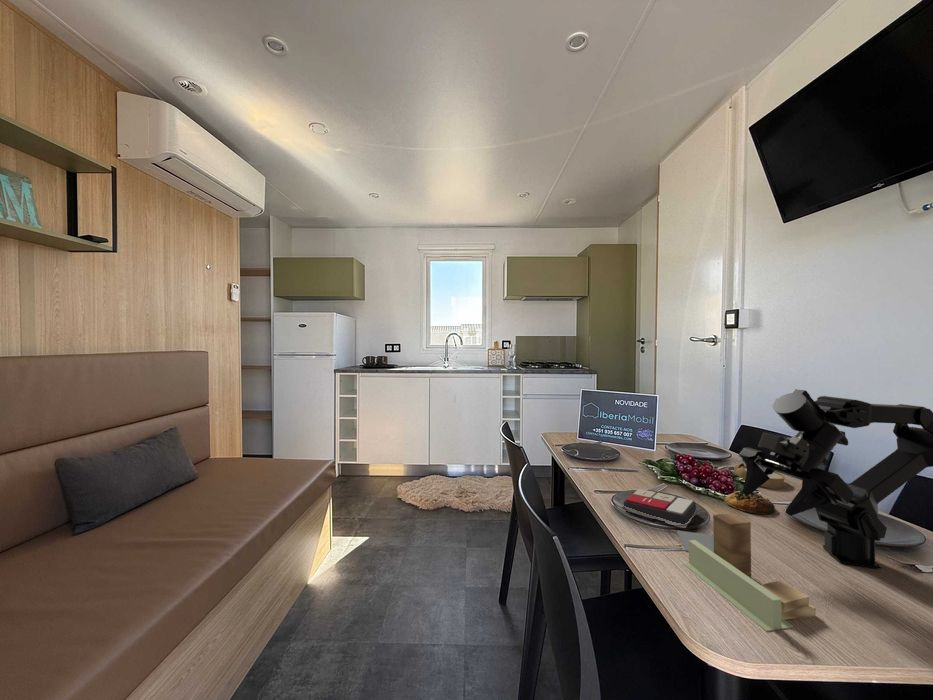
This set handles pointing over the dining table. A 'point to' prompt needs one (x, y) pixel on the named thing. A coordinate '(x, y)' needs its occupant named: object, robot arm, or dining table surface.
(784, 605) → the offcut upper
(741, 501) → the bread roll
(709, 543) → the felt pad
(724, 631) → the dining table surface
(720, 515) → the brown wooden block
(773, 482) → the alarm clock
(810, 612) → the offcut lower
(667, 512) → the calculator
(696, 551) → the green flanged rail
